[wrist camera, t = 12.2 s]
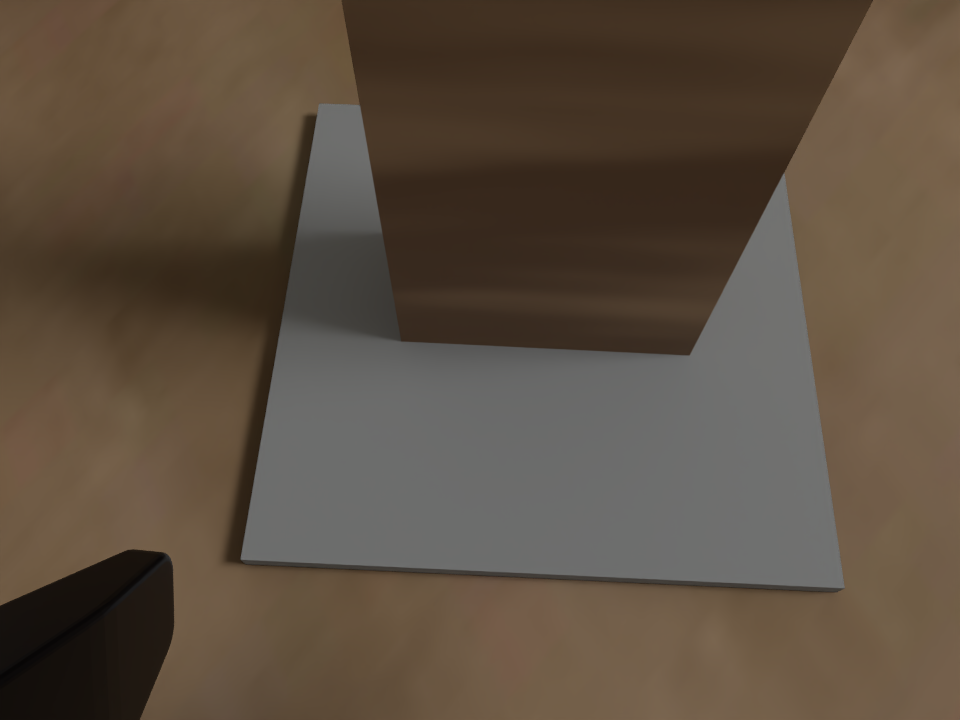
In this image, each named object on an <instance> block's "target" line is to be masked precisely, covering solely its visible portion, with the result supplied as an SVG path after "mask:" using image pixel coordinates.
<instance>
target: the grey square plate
mask: <svg viewBox="0 0 960 720" xmlns="http://www.w3.org/2000/svg"><path fill="white" fill-rule="evenodd" d="M240 560H241V561H242V562H244V563H245V564H253V565H274V566H295V567H317V568H338V569H359V570H380V571H401V572H422V573H443V574H464V575H485V576H506V577H527V578H549V579H570V580H591V581H612V582H633V583H654V584H675V585H696V586H717V587H738V588H759V589H781V590H802V591H823V592H838V591H840V590H842V589H844V588H845V587H844V580H843V573H842V567H841V560H840V553H839V546H838V539H837V532H836V525H835V518H834V512H833V505H832V498H831V491H830V484H829V477H828V470H827V463H826V457H825V450H824V443H823V436H822V429H821V422H820V415H819V408H818V402H817V395H816V388H815V381H814V374H813V367H812V360H811V353H810V346H809V340H808V333H807V326H806V319H805V312H804V305H803V298H802V291H801V285H800V278H799V271H798V264H797V257H796V250H795V243H794V236H793V230H792V223H791V216H790V209H789V202H788V195H787V188H786V181H785V175H784V174H783V176H782V178H781V180H780V182H779V183H778V185H777V187H776V189H775V191H774V193H773V195H772V197H771V199H770V201H769V203H768V205H767V207H766V209H765V211H764V213H763V214H762V216H761V218H760V220H759V222H758V224H757V226H756V228H755V230H754V232H753V234H752V236H751V238H750V240H749V242H748V244H747V245H746V247H745V249H744V251H743V253H742V255H741V257H740V259H739V261H738V263H737V265H736V267H735V269H734V271H733V273H732V275H731V276H730V278H729V280H728V282H727V284H726V286H725V288H724V290H723V292H722V294H721V296H720V298H719V300H718V302H717V304H716V306H715V307H714V309H713V311H712V313H711V315H710V317H709V319H708V321H707V323H706V325H705V327H704V329H703V331H702V333H701V335H700V337H699V338H698V340H697V342H696V344H695V346H694V348H693V350H692V352H691V354H690V356H689V355H669V354H648V353H628V352H607V351H586V350H566V349H545V348H525V347H504V346H484V345H463V344H442V343H422V342H401V337H400V331H399V326H398V320H397V314H396V309H395V303H394V297H393V291H392V286H391V280H390V274H389V268H388V263H387V257H386V251H385V246H384V240H383V234H382V228H381V223H380V217H379V211H378V205H377V200H376V194H375V188H374V183H373V177H372V171H371V165H370V160H369V154H368V148H367V142H366V137H365V131H364V125H363V120H362V114H361V108H360V105H345V104H319V108H318V114H317V120H316V125H315V131H314V137H313V143H312V149H311V154H310V160H309V166H308V172H307V178H306V183H305V189H304V195H303V201H302V206H301V212H300V218H299V224H298V230H297V235H296V241H295V247H294V253H293V258H292V264H291V270H290V276H289V282H288V287H287V293H286V299H285V305H284V311H283V316H282V322H281V328H280V334H279V339H278V345H277V351H276V357H275V363H274V368H273V374H272V380H271V386H270V391H269V397H268V403H267V409H266V415H265V420H264V426H263V432H262V438H261V444H260V449H259V455H258V461H257V467H256V472H255V478H254V484H253V490H252V496H251V501H250V507H249V513H248V519H247V524H246V530H245V536H244V542H243V548H242V553H241V559H240Z"/></svg>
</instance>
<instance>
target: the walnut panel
mask: <svg viewBox="0 0 960 720" xmlns="http://www.w3.org/2000/svg"><path fill="white" fill-rule="evenodd" d="M872 1H873V0H342V5H343V11H344V16H345V22H346V28H347V34H348V39H349V45H350V51H351V57H352V62H353V68H354V74H355V79H356V85H357V91H358V97H359V102H360V108H361V114H362V120H363V125H364V131H365V137H366V142H367V148H368V154H369V160H370V165H371V171H372V177H373V183H374V188H375V194H376V200H377V205H378V211H379V217H380V223H381V228H382V234H383V240H384V246H385V251H386V257H387V263H388V268H389V274H390V280H391V286H392V291H393V297H394V303H395V309H396V314H397V320H398V326H399V331H400V337H401V342H422V343H442V344H463V345H484V346H504V347H525V348H545V349H566V350H586V351H607V352H628V353H648V354H669V355H689V356H690V354H691V352H692V350H693V348H694V346H695V344H696V342H697V340H698V338H699V337H700V335H701V333H702V331H703V329H704V327H705V325H706V323H707V321H708V319H709V317H710V315H711V313H712V311H713V309H714V307H715V306H716V304H717V302H718V300H719V298H720V296H721V294H722V292H723V290H724V288H725V286H726V284H727V282H728V280H729V278H730V276H731V275H732V273H733V271H734V269H735V267H736V265H737V263H738V261H739V259H740V257H741V255H742V253H743V251H744V249H745V247H746V245H747V244H748V242H749V240H750V238H751V236H752V234H753V232H754V230H755V228H756V226H757V224H758V222H759V220H760V218H761V216H762V214H763V213H764V211H765V209H766V207H767V205H768V203H769V201H770V199H771V197H772V195H773V193H774V191H775V189H776V187H777V185H778V183H779V182H780V180H781V178H782V176H783V174H784V172H785V170H786V168H787V166H788V164H789V162H790V160H791V158H792V156H793V154H794V152H795V151H796V149H797V147H798V145H799V143H800V141H801V139H802V137H803V135H804V133H805V131H806V129H807V127H808V125H809V123H810V121H811V120H812V118H813V116H814V114H815V112H816V110H817V108H818V106H819V104H820V102H821V100H822V98H823V96H824V94H825V92H826V90H827V89H828V87H829V85H830V83H831V81H832V79H833V77H834V75H835V73H836V71H837V69H838V67H839V65H840V63H841V61H842V59H843V58H844V56H845V54H846V52H847V50H848V48H849V46H850V44H851V42H852V40H853V38H854V36H855V34H856V32H857V30H858V28H859V27H860V25H861V23H862V21H863V19H864V17H865V15H866V13H867V11H868V9H869V7H870V5H871V3H872Z"/></svg>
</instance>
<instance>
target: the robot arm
mask: <svg viewBox="0 0 960 720" xmlns="http://www.w3.org/2000/svg"><path fill="white" fill-rule="evenodd" d="M173 630H174V592H173V565H172V561H171V558H170V557H169V556H168V555H167V554H166V553H162V552H154V551H144V550H134V549H133V550H127V551H124V552H122V553H119V554H117V555H115V556H113V557H110V558H108V559H106V560H103V561H101V562H99V563H97V564H94V565H92V566H90V567H87V568H85V569H83V570H81V571H78V572H76V573H74V574H71V575H69V576H67V577H65V578H62V579H60V580H58V581H55V582H53V583H51V584H49V585H46V586H44V587H42V588H39V589H37V590H35V591H33V592H30V593H28V594H26V595H23V596H21V597H19V598H17V599H14V600H12V601H10V602H7V603H5V604H3V605H1V606H0V720H140V718H141V715H142V713H143V711H144V708H145V706H146V703H147V701H148V698H149V696H150V693H151V691H152V689H153V686H154V684H155V681H156V679H157V676H158V674H159V672H160V669H161V667H162V664H163V662H164V659H165V657H166V654H167V652H168V650H169V647H170V644H171V640H172V636H173Z"/></svg>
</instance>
